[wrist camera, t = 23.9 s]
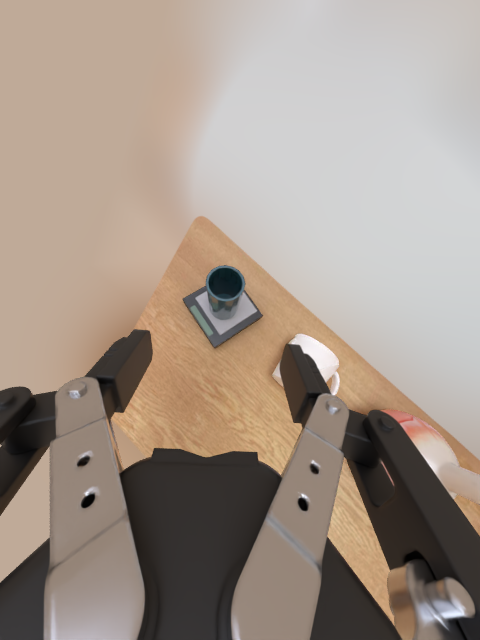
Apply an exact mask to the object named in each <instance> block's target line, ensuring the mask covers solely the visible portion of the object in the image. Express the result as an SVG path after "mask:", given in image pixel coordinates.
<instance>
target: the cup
mask: <svg viewBox="0 0 480 640" xmlns="http://www.w3.org/2000/svg"><path fill="white" fill-rule="evenodd" d="M244 287H245V281H244V277H243V275H242V274H241V273H240V271H239V270H237V269H235V268H234V267H231V266H226V265H224V266H218V267H216V268H214V269H212V270H211V272H210V273H209V274H208V275H207V279H206V289H207V296H208V304H209V309H210V312H211V314H212V315H213V316H214V317H215V318H217V319H220V320H227V319H230V318H232V317H233V316H234V315H235V314H236V312H237V310H238V307H239V304H240V301H241V298H242V295H243V292H244Z"/></svg>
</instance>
